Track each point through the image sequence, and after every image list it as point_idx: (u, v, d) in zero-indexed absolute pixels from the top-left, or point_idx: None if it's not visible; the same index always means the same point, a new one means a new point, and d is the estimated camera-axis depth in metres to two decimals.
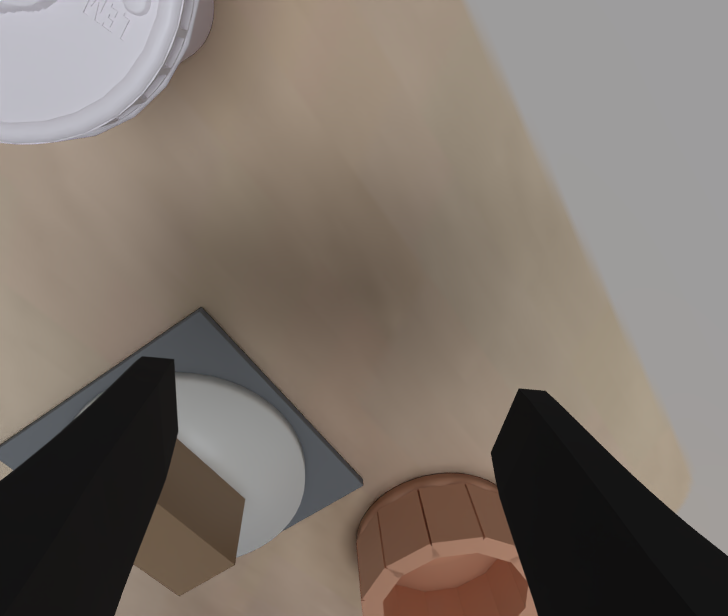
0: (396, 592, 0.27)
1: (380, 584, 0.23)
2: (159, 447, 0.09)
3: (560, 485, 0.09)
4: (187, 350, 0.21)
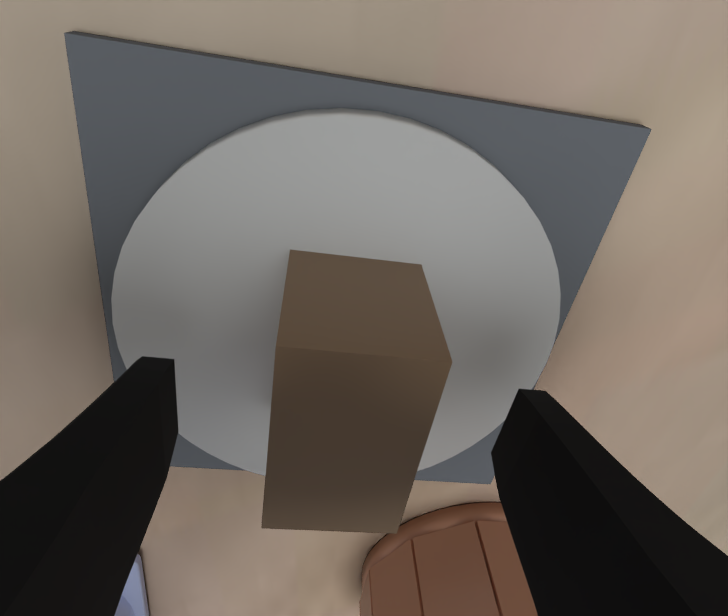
0: None
1: None
2: (159, 447, 0.09)
3: (560, 485, 0.09)
4: (564, 168, 0.11)
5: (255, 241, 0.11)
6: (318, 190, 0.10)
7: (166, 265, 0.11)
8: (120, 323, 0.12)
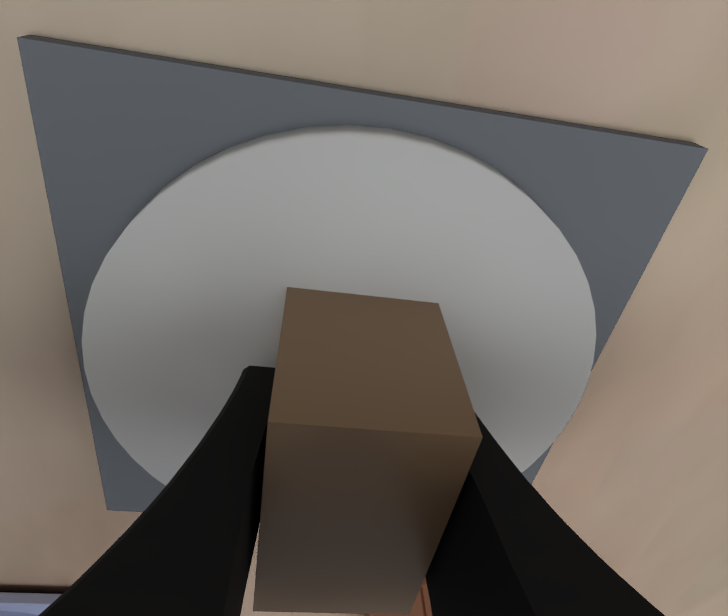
0: None
1: None
2: None
3: None
4: (604, 193, 0.10)
5: (247, 278, 0.09)
6: (320, 220, 0.09)
7: (144, 304, 0.10)
8: (93, 368, 0.10)
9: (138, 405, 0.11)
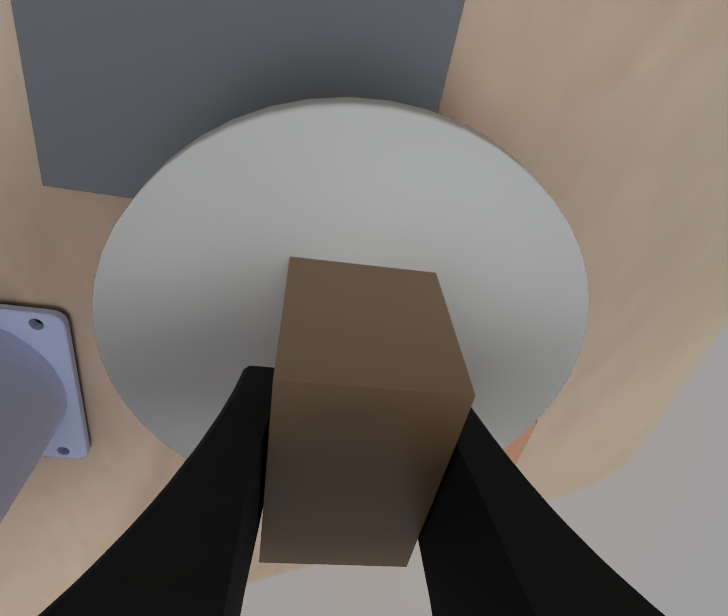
0: None
1: None
2: None
3: (450, 478, 0.09)
4: None
5: (251, 247, 0.10)
6: (321, 191, 0.09)
7: (152, 273, 0.10)
8: (103, 335, 0.11)
9: (147, 372, 0.12)
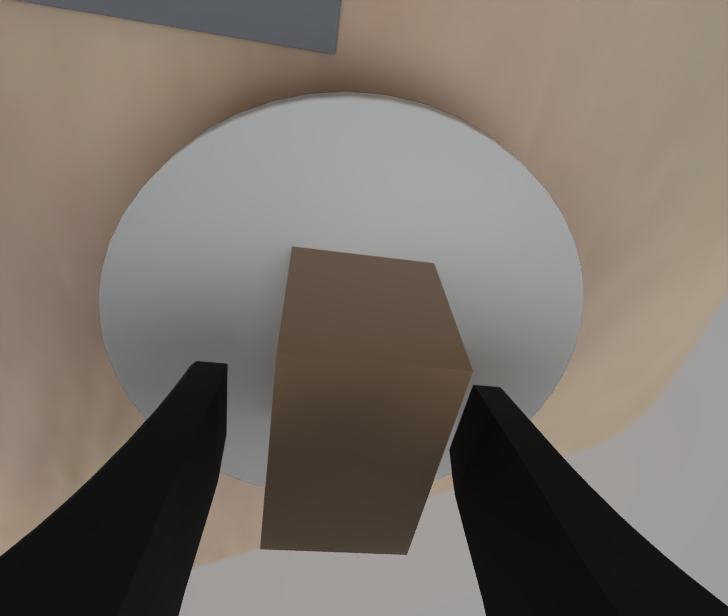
0: None
1: None
2: (215, 451, 0.09)
3: (506, 482, 0.09)
4: None
5: (254, 237, 0.10)
6: (323, 181, 0.10)
7: (157, 263, 0.10)
8: (108, 325, 0.11)
9: (150, 364, 0.12)
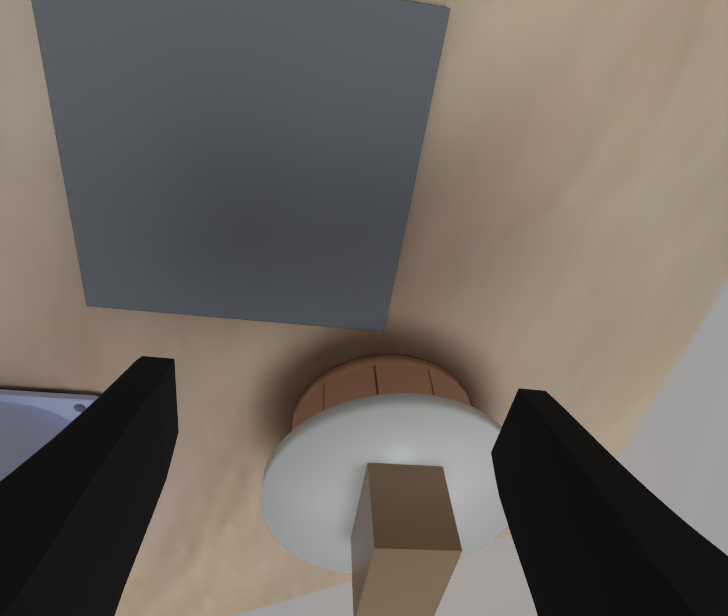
0: None
1: None
2: (159, 447, 0.09)
3: (560, 485, 0.09)
4: (391, 40, 0.15)
5: (348, 460, 0.19)
6: (385, 437, 0.19)
7: (296, 471, 0.19)
8: (265, 498, 0.20)
9: (283, 514, 0.21)
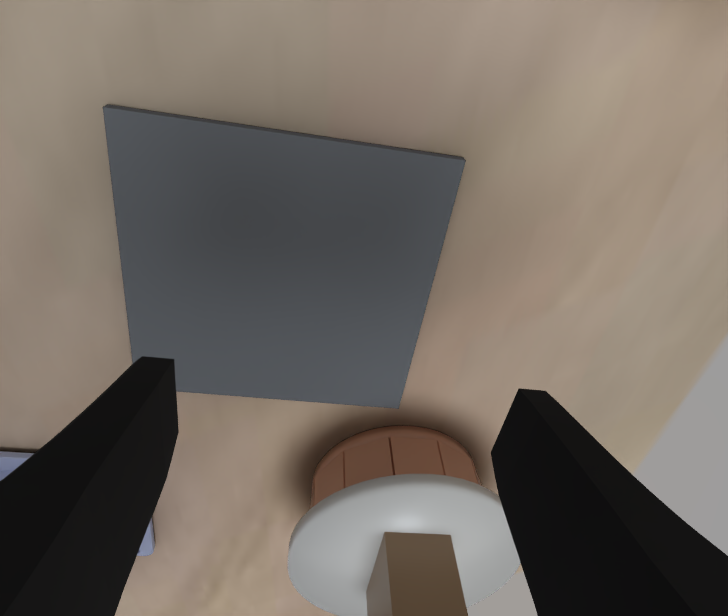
0: None
1: None
2: (159, 447, 0.09)
3: (560, 485, 0.09)
4: (414, 184, 0.18)
5: (367, 529, 0.22)
6: (401, 512, 0.21)
7: (321, 539, 0.22)
8: (291, 560, 0.23)
9: (307, 572, 0.23)
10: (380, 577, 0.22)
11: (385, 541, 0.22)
